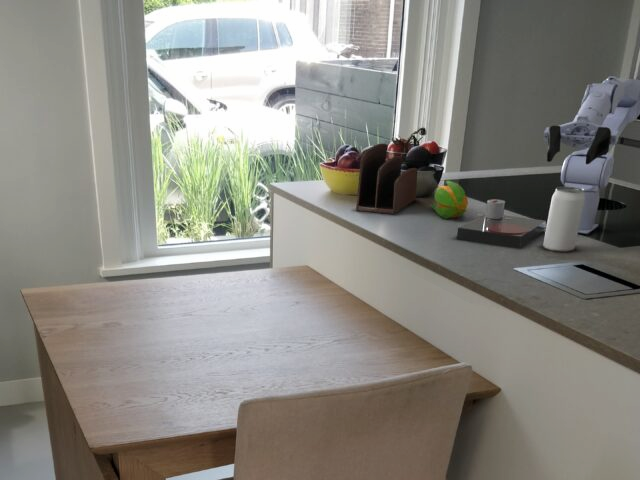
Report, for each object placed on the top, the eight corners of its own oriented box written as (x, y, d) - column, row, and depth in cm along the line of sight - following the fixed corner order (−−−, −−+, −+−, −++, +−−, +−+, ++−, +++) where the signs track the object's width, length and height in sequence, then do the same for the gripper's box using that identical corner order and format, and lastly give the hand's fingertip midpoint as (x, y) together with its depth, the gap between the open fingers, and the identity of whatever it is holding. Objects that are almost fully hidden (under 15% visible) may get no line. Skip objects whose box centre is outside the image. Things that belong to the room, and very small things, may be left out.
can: (570, 245, 179) (582, 186, 173) (577, 252, 174) (590, 192, 167) (539, 244, 180) (550, 185, 173) (545, 251, 174) (557, 191, 168)
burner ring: (494, 222, 186) (494, 221, 186) (534, 227, 182) (534, 227, 182) (480, 230, 180) (480, 229, 179) (521, 236, 175) (521, 235, 175)
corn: (445, 188, 192) (426, 172, 209) (438, 222, 196) (421, 204, 213) (476, 190, 193) (455, 175, 210) (469, 224, 197) (449, 206, 214)
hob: (481, 222, 197) (483, 211, 195) (544, 231, 190) (547, 219, 188) (451, 238, 183) (453, 226, 182) (518, 248, 176) (520, 235, 175)
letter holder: (355, 211, 206) (359, 150, 199) (379, 196, 222) (384, 139, 214) (394, 215, 203) (399, 153, 195) (416, 200, 218) (422, 142, 211)
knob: (488, 214, 193) (491, 197, 191) (505, 216, 191) (508, 199, 189) (482, 217, 190) (485, 200, 188) (499, 219, 188) (502, 202, 186)
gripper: (554, 102, 174) (532, 137, 168) (626, 104, 167) (607, 141, 161) (552, 133, 179) (531, 169, 173) (623, 137, 172) (604, 174, 166)
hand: (568, 158), depth 167 cm, fingers open, 7 cm apart
